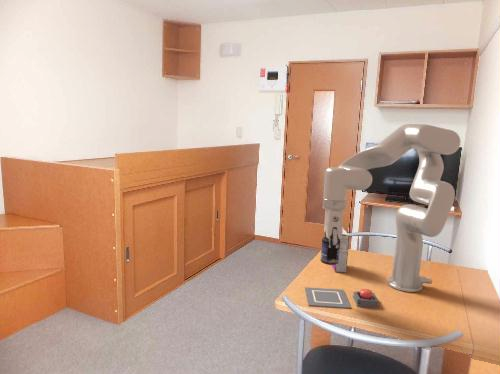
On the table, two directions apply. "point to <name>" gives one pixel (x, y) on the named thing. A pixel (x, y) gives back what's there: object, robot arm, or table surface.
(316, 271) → the table surface
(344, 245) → the candy bar box
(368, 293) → the button
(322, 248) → the pill bottle
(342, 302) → the gray square pad
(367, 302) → the button housing
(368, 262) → the table surface
